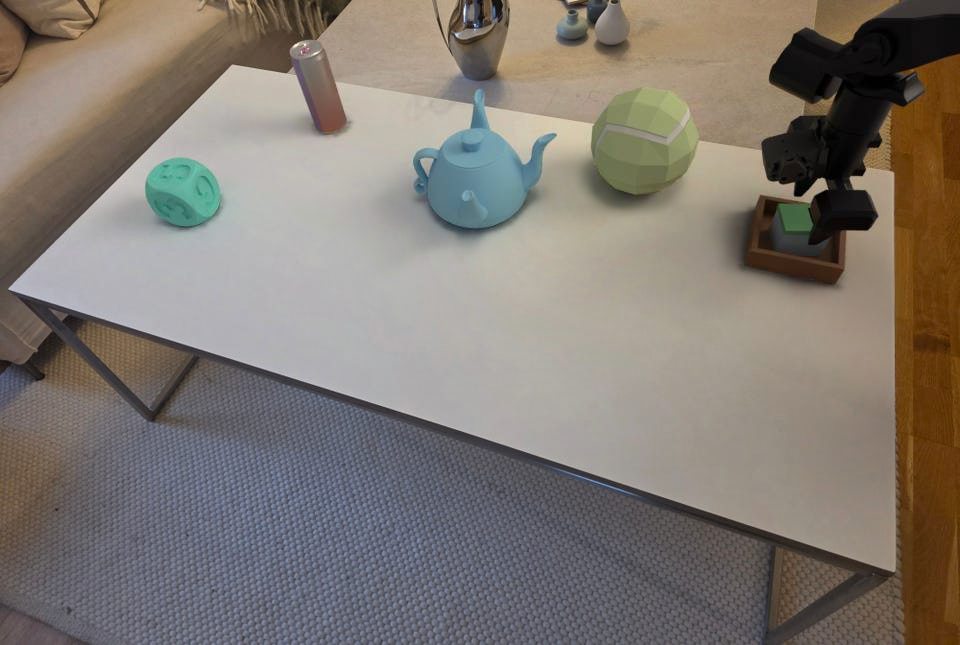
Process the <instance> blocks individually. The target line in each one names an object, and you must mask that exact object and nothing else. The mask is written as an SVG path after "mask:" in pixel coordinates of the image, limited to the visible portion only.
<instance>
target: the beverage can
mask: <svg viewBox="0 0 960 645" xmlns="http://www.w3.org/2000/svg"><path fill="white" fill-rule="evenodd" d="M289 55H290V62H291V64H292V68H293V71H294V72H295V75H296V78H297V81H298V84H299V86H300V89H301V91H302V95H303V97H304V101H305V102H306V105H307V108H308V111H309V114H310V117H311V119H312V122H313V124H314V128H315V129H316V130H317V131H318V132H319V133H322V134H325V135H326V134H327V135H330V134H331V135H332V134H335V133H339V132H341V130H343V129H344V128H345V126H346V125H347V124H346V123H347V116H346V112H345V109H344V105H343V102H342V99H341V95H340V93H339V90H338V87H337V86H338V85H337V83H336V80H335V77H334V73H333V71H332V68H331V64H330V61H329V58H328V54H327V51H326V49H325V48H324V46H323V43H322V42H321V41H319V40H316V39H306V40H305V39H304V40H301V41H299V42H296V43H294V44H293V45H292V46H291V47H290V49H289Z"/></svg>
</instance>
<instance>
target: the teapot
mask: <svg viewBox="0 0 960 645" xmlns="http://www.w3.org/2000/svg"><path fill="white" fill-rule="evenodd" d="M483 90H484V89H482V88H478V89H476V91H475V93H474V96H473V104H472V105H473V106H472V114H471V115H472V116H471V122H470V128H467V129H466V128H465V129H463V130H460V131H459V130H458V131H457V132H455V133H453V134H451V135H450V136H448V138H447V139H446V140H445V141H444V142H443V143H442V144H441V146H440V148H439V149H437V148H434V147H423V148H421V149H419V150H418V151H417V152H416V153H415V155H414V156H413V159H412V163H413V168H414V171H415V173H416V175H417V177H418V178H416V179H415V180H414V182H413V190H414V191H415V193H417V194H419V195H423V196H425V195H427V198H428V202H429V205H430V206H431V208H432V209H433V211H434V213H435V214H437V216H439V217H440V218H441V219H443V220H444V221H446V222H448V223H450V224H452V225H454V226H458V227H460V228H465V229H485V228H490V227H493V226H496V225H497V226H498V225H499V224H502V223H503V222H505V221H506V220H508V219H510V218H511V217H512V216H513V215H514V214H516V213H517V212H518V211H519V210H520V209H521V207H522V206H523V205H524V202H525V201H526V198H527V196H528V193H529V191H530V190H531V189H533V188H534V187H535V186H536V185H537V184H538V183H539V181H540V179H541V176H542V172H543V158H544V152H545V149H546V147H547V146H548V144H550V143H551V142H552V141H553V140H554V139H556V137H557V136H558V135H557V133H556V132H550V133H547V134H544V135H542V136H540V137H539V138H537V139H536V140H535V142H534V143H533V145H532V148H531V155H530V159H529V160H528V162H526V163H525V164H523V162H522V160H521V157H520V156H519V155H518V153H517V151H516V150H515V149H514V148H513V146H512V145H511V144H509V142H508V141H507V140H506V139H504V137H502V136H501V135H500V134H498V133H497V132H495V131H493V130H492V129H491V127H490V123H489V120H488V117H487V114H486V109H485V92H484V91H483ZM422 159H433V160H432V163H431V165H430V167H429V168H430V169H429V172H428V174H427V173H426V171H425V169H424V167H423V165H422V162H421V160H422Z"/></svg>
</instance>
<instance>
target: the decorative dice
mask: <svg viewBox="0 0 960 645" xmlns="http://www.w3.org/2000/svg"><path fill="white" fill-rule="evenodd" d="M149 171H150V172H148V174H147V177H146V180H145V186H144V191H145V197H146V201H147V203H148V205H149V207H150V208H151V210H152V211H153V212H154V213H155V214H156V215H157V216H158V217H159V218H161V219H163V220H164V221H166V222H168V223H170V224H172V225H175V226H179V227H194V226H198V225H201V224H202V223H205V222H207V221H208V220H209V219H211V218H212V217H213V216H214V215H215V214H216V213H217V210H218V209H219V205H220V201H221V190H220V189H221V188H220V185H219V182H218V179H217V178H216V176H215V175H214V173H213V172H212V170H210V169H209V168H208V167H207V166H206V165H204V164H202V163H201V162H199V161H198V160H194V159H192V158H188V157H183V156H181V157H180V156H179V157H172V158H169V159H166V160H164V161H162V162H160V163H158V164H157V165H155V166H154V167H153V168H152V169H151V170H149Z"/></svg>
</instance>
